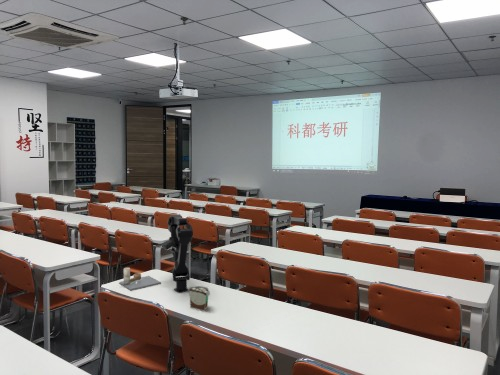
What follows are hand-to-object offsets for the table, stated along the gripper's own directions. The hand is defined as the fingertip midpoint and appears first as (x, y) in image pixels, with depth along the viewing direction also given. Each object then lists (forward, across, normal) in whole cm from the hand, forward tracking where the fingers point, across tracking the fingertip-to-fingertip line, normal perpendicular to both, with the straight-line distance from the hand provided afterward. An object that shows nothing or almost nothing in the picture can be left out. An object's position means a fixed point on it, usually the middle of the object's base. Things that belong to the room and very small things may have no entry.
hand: (175, 260), depth 234 cm
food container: (+13, +43, -10) cm, 46 cm away
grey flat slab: (+13, -10, -18) cm, 25 cm away
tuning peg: (+12, -14, -22) cm, 28 cm away
